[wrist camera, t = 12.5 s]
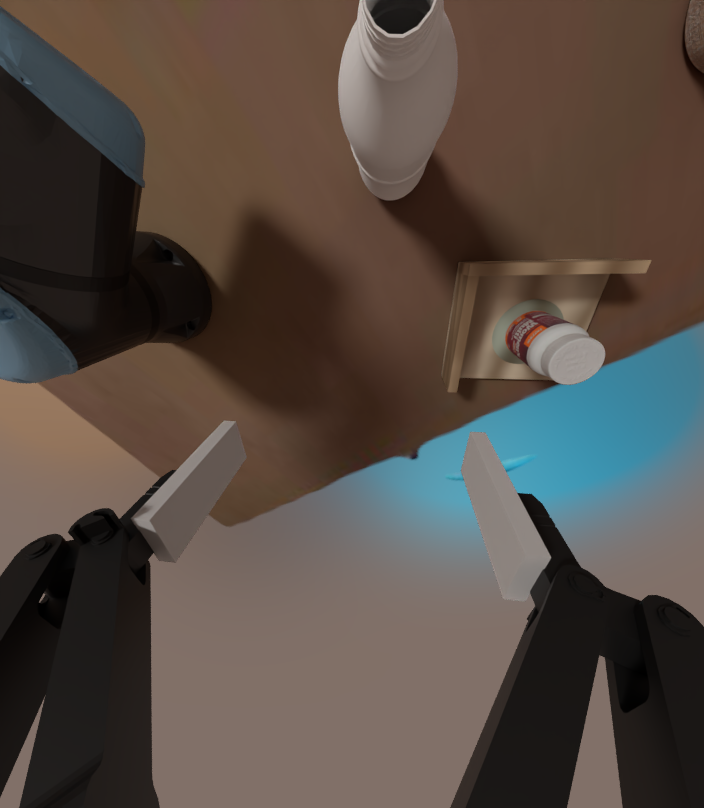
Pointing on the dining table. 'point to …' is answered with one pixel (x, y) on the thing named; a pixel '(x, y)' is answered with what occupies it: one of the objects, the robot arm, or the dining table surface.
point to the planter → (695, 34)
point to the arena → (518, 309)
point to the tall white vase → (397, 90)
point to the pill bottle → (554, 347)
